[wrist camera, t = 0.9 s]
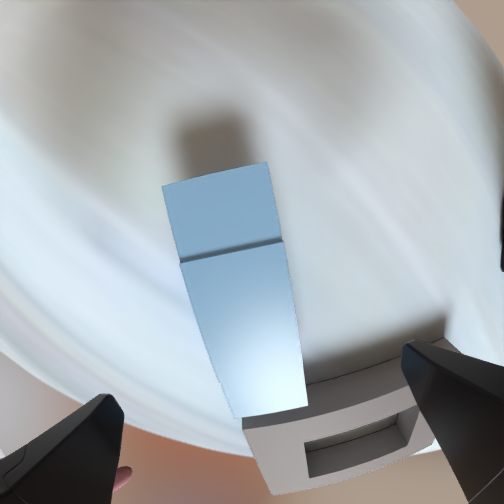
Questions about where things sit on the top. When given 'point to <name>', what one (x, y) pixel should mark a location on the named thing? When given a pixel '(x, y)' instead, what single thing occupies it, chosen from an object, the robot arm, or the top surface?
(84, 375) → the top surface
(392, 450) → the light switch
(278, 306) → the light blue bar
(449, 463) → the robot arm
